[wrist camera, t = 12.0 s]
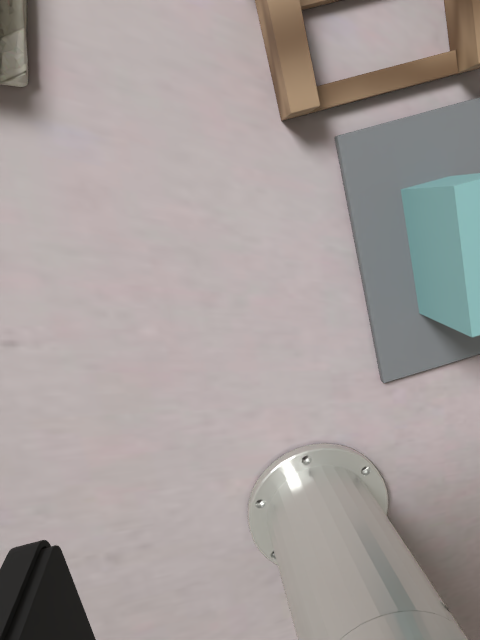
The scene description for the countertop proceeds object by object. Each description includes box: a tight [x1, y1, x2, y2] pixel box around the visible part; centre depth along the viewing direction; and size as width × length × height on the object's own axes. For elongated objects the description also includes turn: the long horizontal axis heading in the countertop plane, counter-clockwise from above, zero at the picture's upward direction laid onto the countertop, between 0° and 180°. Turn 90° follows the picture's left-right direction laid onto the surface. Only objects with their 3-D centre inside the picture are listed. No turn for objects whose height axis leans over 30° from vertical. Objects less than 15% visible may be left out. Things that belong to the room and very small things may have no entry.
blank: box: [401, 173, 480, 337], centre depth 33 cm, size 4×10×7 cm, turn 14°
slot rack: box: [255, 0, 480, 121], centre depth 31 cm, size 8×15×3 cm, turn 105°
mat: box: [335, 98, 480, 383], centre depth 36 cm, size 20×12×1 cm, turn 15°
